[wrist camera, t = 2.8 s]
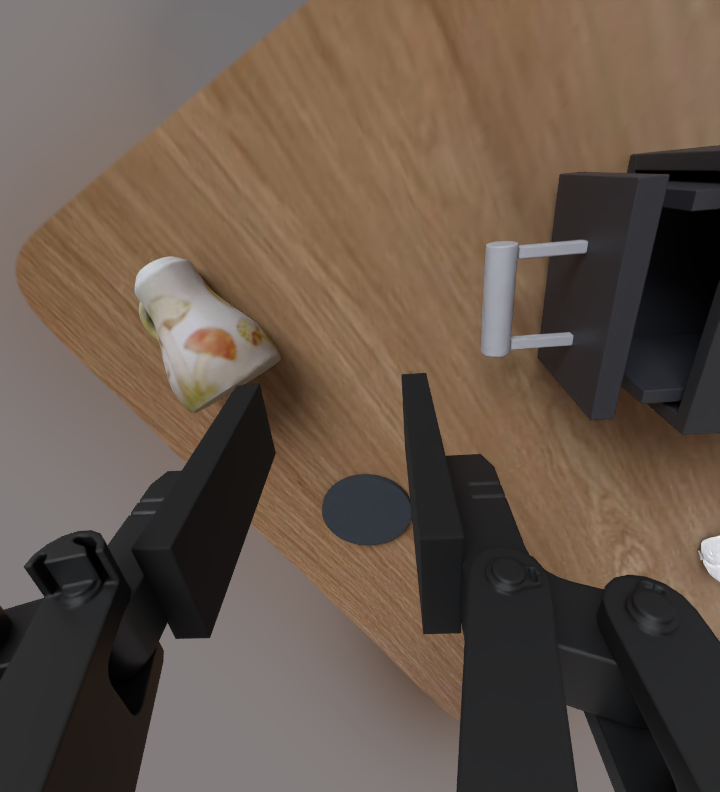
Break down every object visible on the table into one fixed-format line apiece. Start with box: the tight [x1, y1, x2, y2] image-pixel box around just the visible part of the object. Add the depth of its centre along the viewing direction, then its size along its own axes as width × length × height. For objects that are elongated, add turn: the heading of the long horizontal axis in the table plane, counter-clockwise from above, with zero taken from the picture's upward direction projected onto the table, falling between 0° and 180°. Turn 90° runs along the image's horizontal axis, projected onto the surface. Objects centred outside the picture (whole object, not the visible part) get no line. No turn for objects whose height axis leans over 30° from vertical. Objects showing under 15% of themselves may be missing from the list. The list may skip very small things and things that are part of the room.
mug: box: [135, 257, 281, 413], centre depth 27 cm, size 8×10×10 cm
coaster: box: [322, 474, 412, 545], centre depth 38 cm, size 8×8×1 cm
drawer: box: [481, 172, 720, 420], centre depth 22 cm, size 24×11×8 cm, turn 95°
